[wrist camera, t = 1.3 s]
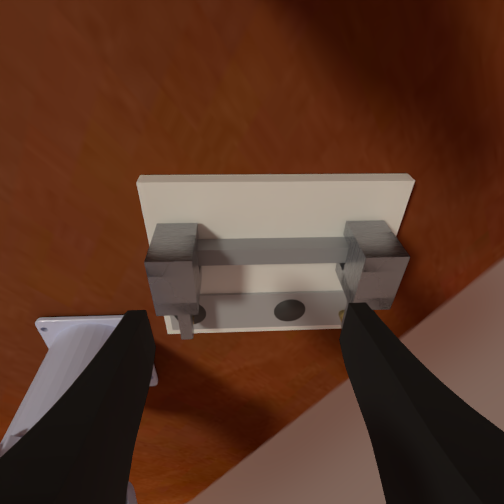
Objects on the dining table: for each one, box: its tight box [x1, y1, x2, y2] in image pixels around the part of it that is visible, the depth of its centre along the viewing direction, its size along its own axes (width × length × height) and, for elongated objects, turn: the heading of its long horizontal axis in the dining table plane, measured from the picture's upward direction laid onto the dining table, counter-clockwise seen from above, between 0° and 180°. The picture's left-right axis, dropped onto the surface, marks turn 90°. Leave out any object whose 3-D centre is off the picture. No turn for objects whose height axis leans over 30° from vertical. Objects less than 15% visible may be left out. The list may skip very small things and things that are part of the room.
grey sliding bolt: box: [335, 220, 410, 328], centre depth 21 cm, size 8×2×4 cm, turn 179°
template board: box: [136, 174, 415, 334], centre depth 23 cm, size 13×16×2 cm
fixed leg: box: [144, 223, 202, 339], centre depth 21 cm, size 8×2×4 cm, turn 179°
